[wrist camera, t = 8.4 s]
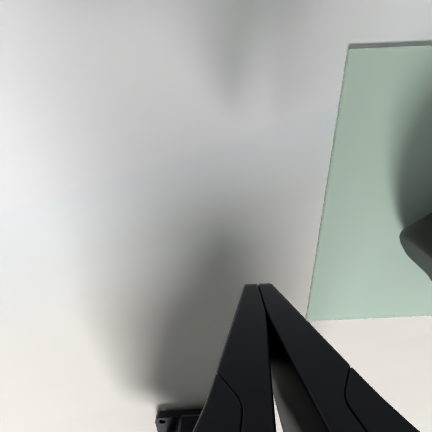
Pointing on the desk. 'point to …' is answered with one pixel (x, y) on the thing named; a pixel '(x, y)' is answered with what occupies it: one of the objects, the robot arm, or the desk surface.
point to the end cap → (419, 243)
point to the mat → (376, 189)
